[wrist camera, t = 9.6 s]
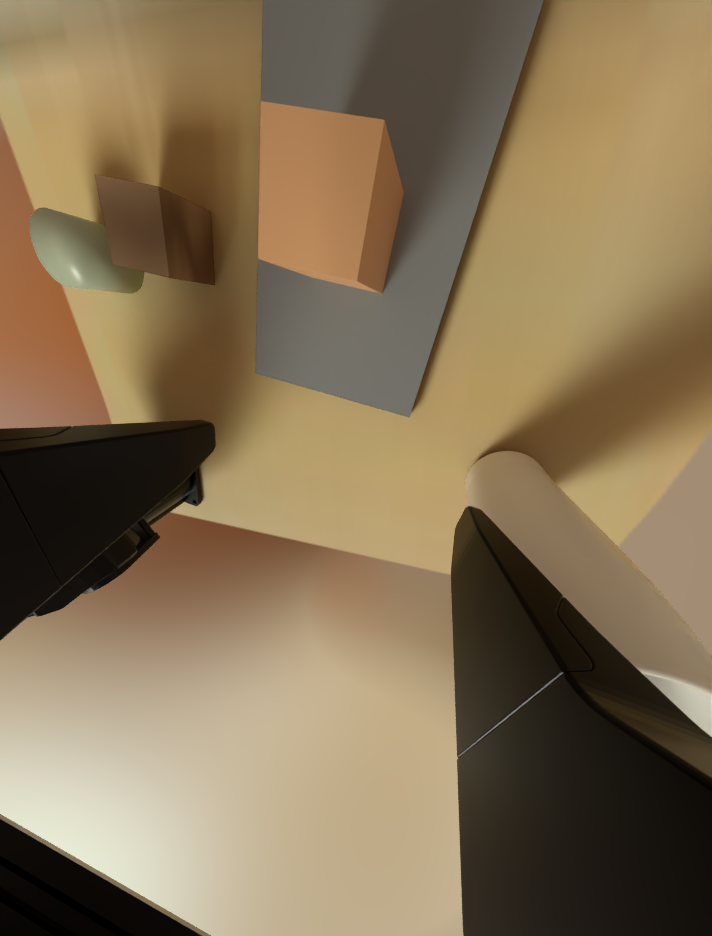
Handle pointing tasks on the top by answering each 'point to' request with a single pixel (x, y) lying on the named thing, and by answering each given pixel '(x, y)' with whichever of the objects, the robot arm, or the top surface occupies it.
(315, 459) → the top surface
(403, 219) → the slate mat
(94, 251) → the sage cylinder
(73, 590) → the robot arm
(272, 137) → the terracotta block
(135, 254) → the walnut block
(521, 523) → the drinking glass
